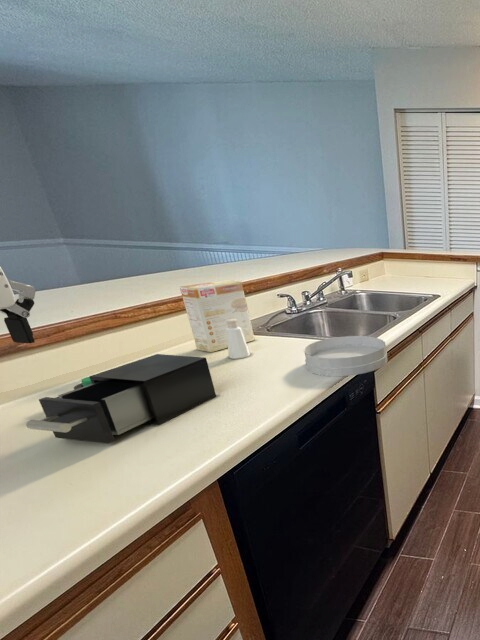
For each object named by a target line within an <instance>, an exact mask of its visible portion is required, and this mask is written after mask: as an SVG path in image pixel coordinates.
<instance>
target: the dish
mask: <svg viewBox="0 0 480 640" xmlns="http://www.w3.org/2000/svg"><path fill="white" fill-rule="evenodd" d="M386 346H387V345H386V342H385V341H384V340H383V339H382V338H378V337H374V336H365V335H346V336H344V335H343V336H337V337H330V338H324V339H321V340H317V341H314V342H312V343H310V344H308V345H307V346H305V348H304V350H303V352H304V356H305V360H304V362H305V367H306V370H307V371H308V372H310V373H312V374H313V375H318V376H322V377H323V376H324V377H349V376H358V375H362V374H367V373H371V372H373V371H376V370H378V369H381V368H382V367H384V366H386V364H387V363H388V352H387V347H386Z"/></svg>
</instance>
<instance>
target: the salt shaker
mask: <svg viewBox="0 0 480 640" xmlns="http://www.w3.org/2000/svg"><path fill="white" fill-rule="evenodd" d="M226 323H227V326H228V328H227V329H226V334H227V343H228V348H227V349H228V356H229V357H228V358H230V359H232V360H233V359H234V360H236V359H238V360H239V359H244V358H247V357H249V356H251V352H250V350H249V347H248V344H247V342H246V341H245V338H244V335H243V332H242V330H241V328H240V327H238V323H237V319H228V320H226Z"/></svg>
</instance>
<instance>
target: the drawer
mask: <svg viewBox="0 0 480 640" xmlns="http://www.w3.org/2000/svg"><path fill="white" fill-rule="evenodd" d="M57 397H59V398H56V397H50V396H49V397H48V396H44V397H42V398H39V399H38V401H39V404H40V407H41V409H42V411H43V413H44V415H45V417H44V418H41V419H29V420H28V421H27V422H26V424H25V426H26V428H27V429H29V430H38V431H47V432H52V434H53V435H54V438H55V439H64V440H73V441H82V442H91V443H100V444H110V443H112V442H114V441H115V437H114V436H120V435H121V434H124V433H125V432H128V431H130V430H132V429H134V428H136V427H138V426H141V425H142V424H145V422H147V421H149V420H151V419H153V418H154V417H153V414H152V411H151V408H150V405H149V402H148V399H147V396H146V394H145V391H144V388H143V384H132V383H120V382H108V381H98V382H95V383H92V384H90V385H87V386H84V387H81V388H78V389H75V390H74V389H73V390H70V391H67V392H63V393H61V394H58V395H57Z"/></svg>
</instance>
